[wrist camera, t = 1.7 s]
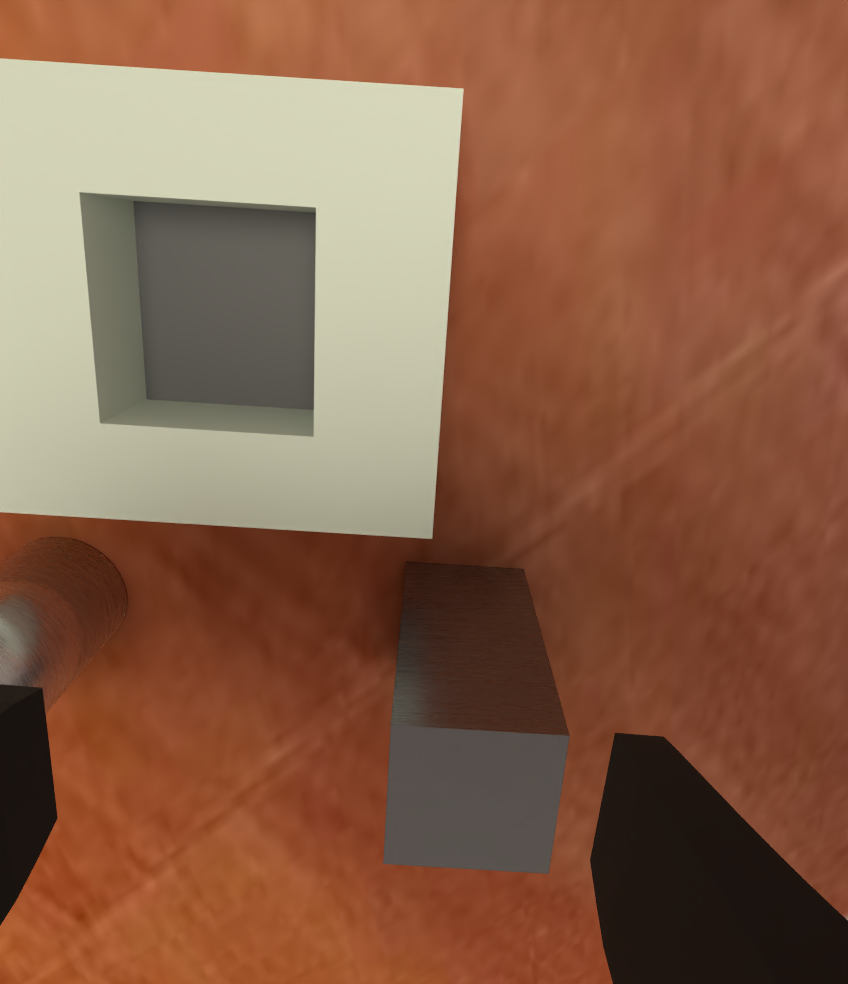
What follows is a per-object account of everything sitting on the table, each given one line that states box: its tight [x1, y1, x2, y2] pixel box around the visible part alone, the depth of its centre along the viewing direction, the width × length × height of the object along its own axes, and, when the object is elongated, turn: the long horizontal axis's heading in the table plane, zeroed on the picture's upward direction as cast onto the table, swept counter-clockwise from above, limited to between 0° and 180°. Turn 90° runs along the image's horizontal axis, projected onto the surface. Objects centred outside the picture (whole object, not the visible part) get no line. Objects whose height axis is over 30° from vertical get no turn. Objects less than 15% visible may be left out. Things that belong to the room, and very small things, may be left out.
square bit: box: [383, 562, 569, 874], centre depth 17 cm, size 3×3×7 cm
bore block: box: [0, 59, 463, 539], centre depth 16 cm, size 10×9×3 cm
